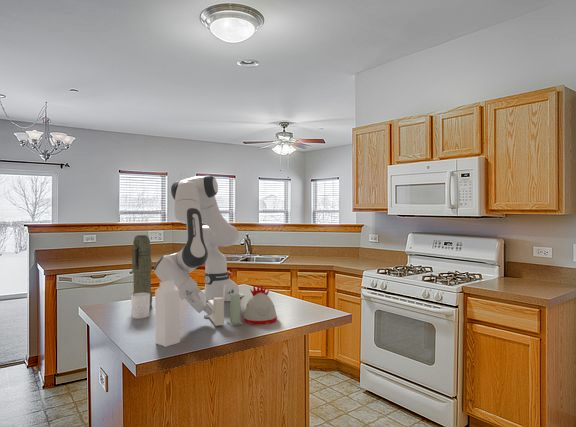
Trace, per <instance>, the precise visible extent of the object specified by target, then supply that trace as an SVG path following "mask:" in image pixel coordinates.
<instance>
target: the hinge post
mask: <svg viewBox="0 0 576 427" xmlns="http://www.w3.org/2000/svg"><path fill="white" fill-rule="evenodd" d="M208 300H213V298H209V299H208ZM203 318H204V319H207V320H211V319H210V318H209V316H208V314H205V315H204V316H203Z"/></svg>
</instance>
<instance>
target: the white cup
mask: <svg viewBox="0 0 576 427" xmlns="http://www.w3.org/2000/svg"><path fill="white" fill-rule="evenodd" d="M130 298H131V310H132V318H133V319H137V320H138V319H139V320H141V319H146V318H149V317H150V309H151V308H150V293H135V294H133V293H132V294H131V297H130Z"/></svg>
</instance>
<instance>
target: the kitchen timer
mask: <svg viewBox="0 0 576 427" xmlns="http://www.w3.org/2000/svg"><path fill="white" fill-rule="evenodd" d="M252 289H253V290H252ZM266 289H267V287H264V288H263V285H262V284H261V285H257V289H256V287H255V285H254V286H253V288H250V289H249V290H250V293H251V295H252V296H251V297H250V299H248V302H247V303H246V307H245V310H244V313H243V323H246V324H248V325H255V326H256V325H257V326H259V325H260V326H262V325H263V326H264V325H270V324H273V323H275V322H277V321H278V320H277V311H276V308H275V304H274V302H273V300H272V299H271V297H270V296H269V295H268V294H269V292H270V290H269V289H267V291H266Z"/></svg>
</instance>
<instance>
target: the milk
mask: <svg viewBox="0 0 576 427" xmlns="http://www.w3.org/2000/svg"><path fill="white" fill-rule="evenodd" d="M154 297H155V299H154V301H155V302H154V304H155V305H154V307H155V311H154V312H155V315H154V316H155V317H154V318H155V319H154V320H155V322H154V324H155V344H156V345H159V346H161V347H165V348H166V347H170V346H173V345H176V344H179V343H181V341H180V339H181V338H180V337H181V336H180V330H181V328H180V298H179V289H178V288H177V287H176V286H175V285H174V280H172V281H166V282H162V281H160V282H159V287H158V288H157V289H155V291H154Z"/></svg>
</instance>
